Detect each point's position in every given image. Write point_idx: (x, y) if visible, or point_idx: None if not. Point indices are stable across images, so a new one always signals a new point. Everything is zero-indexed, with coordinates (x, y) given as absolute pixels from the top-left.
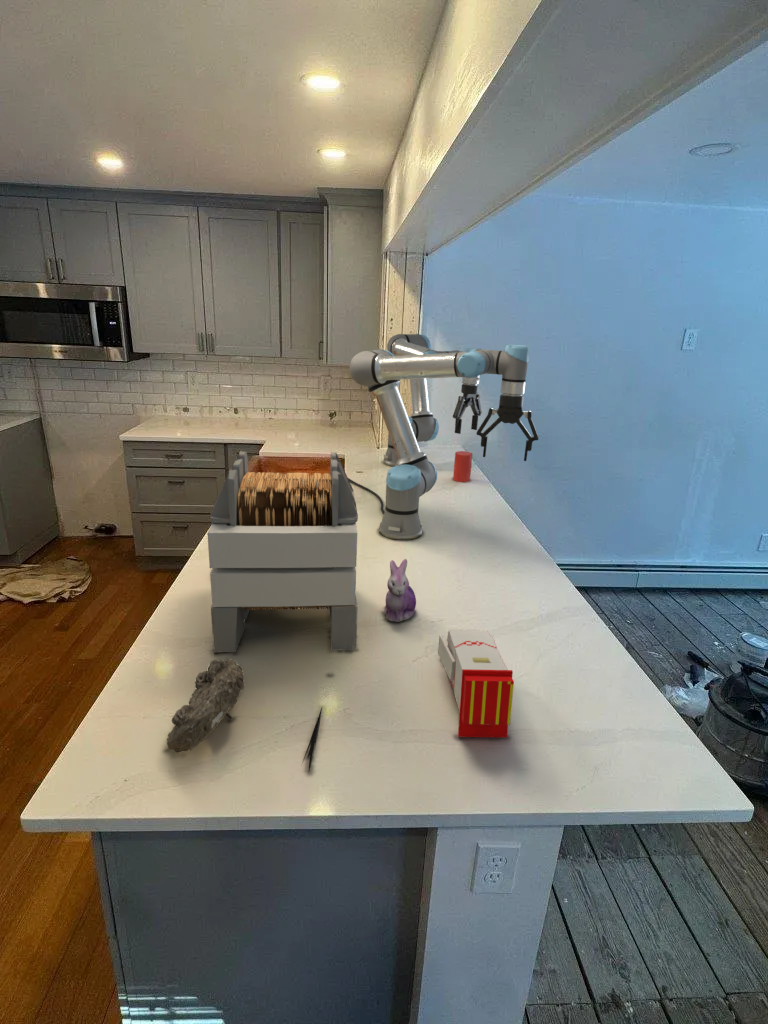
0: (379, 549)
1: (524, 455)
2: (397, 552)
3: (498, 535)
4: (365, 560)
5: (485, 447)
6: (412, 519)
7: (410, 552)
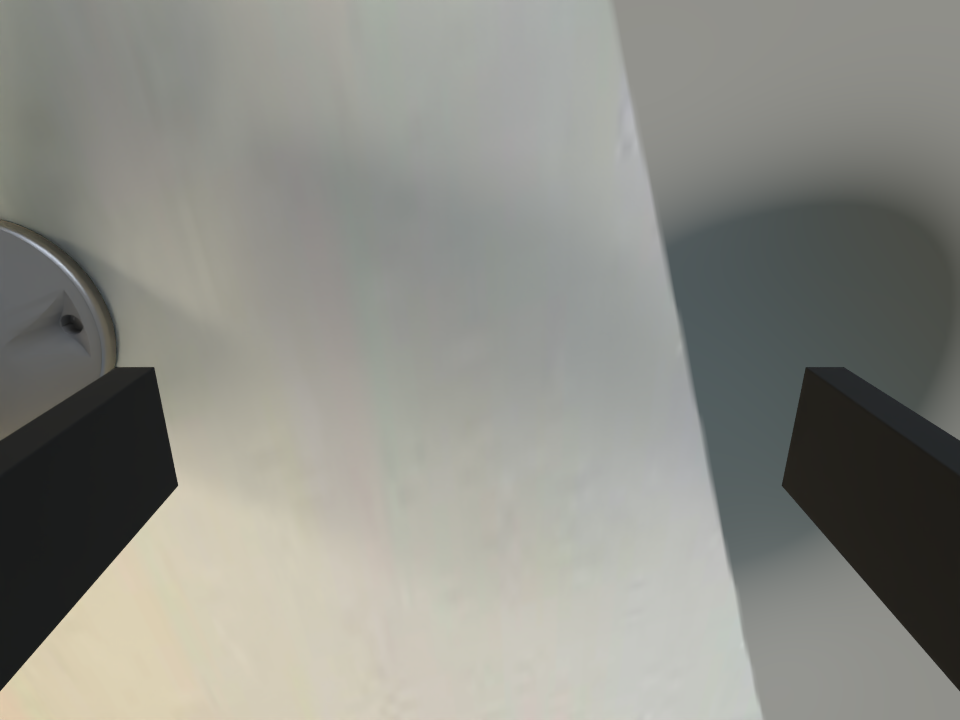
0: None
1: (838, 421)
2: None
3: (496, 194)
4: None
5: (68, 595)
6: (16, 422)
7: (147, 522)
